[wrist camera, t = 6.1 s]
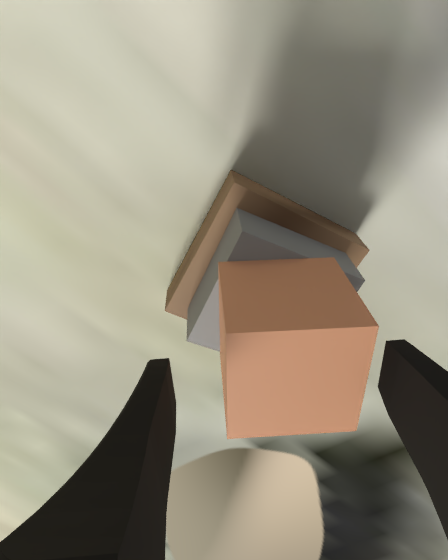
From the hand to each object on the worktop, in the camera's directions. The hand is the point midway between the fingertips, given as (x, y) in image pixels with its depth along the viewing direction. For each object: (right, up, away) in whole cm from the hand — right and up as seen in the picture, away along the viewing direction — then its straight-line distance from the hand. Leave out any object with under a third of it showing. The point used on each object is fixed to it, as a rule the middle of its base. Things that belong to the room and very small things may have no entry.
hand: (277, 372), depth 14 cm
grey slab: (0, +3, +6) cm, 6 cm away
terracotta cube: (0, +2, +3) cm, 4 cm away
